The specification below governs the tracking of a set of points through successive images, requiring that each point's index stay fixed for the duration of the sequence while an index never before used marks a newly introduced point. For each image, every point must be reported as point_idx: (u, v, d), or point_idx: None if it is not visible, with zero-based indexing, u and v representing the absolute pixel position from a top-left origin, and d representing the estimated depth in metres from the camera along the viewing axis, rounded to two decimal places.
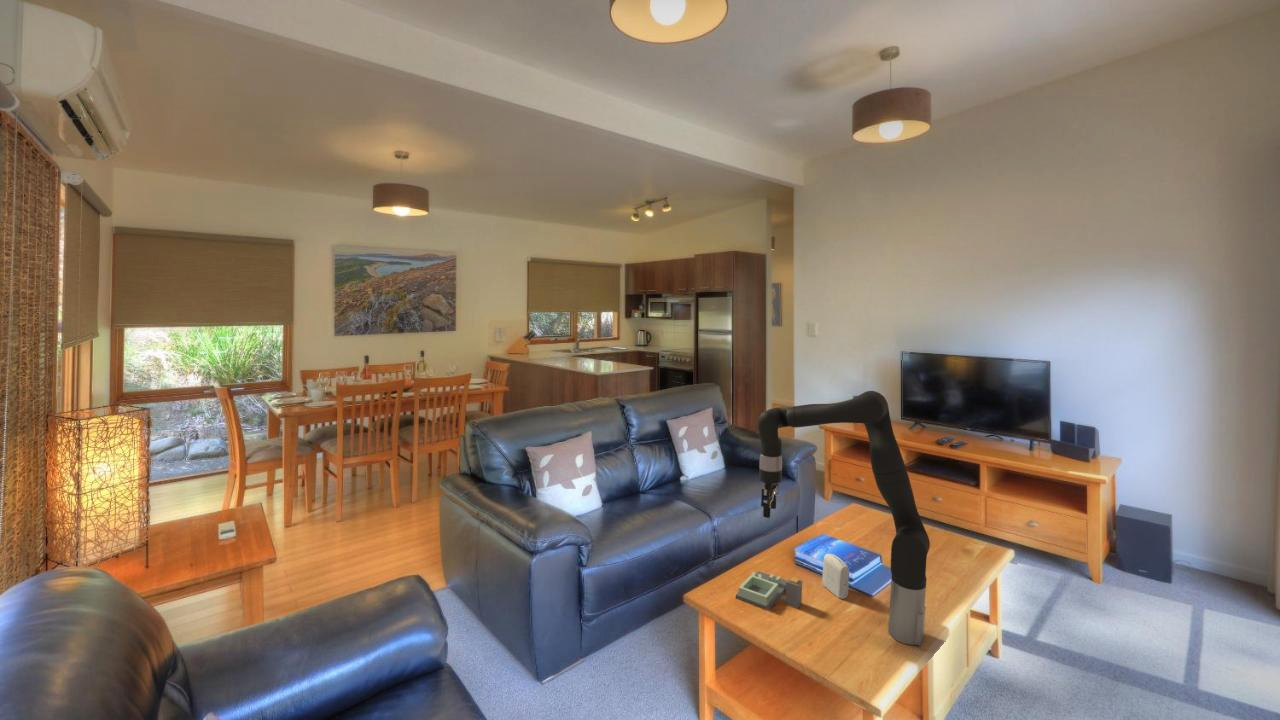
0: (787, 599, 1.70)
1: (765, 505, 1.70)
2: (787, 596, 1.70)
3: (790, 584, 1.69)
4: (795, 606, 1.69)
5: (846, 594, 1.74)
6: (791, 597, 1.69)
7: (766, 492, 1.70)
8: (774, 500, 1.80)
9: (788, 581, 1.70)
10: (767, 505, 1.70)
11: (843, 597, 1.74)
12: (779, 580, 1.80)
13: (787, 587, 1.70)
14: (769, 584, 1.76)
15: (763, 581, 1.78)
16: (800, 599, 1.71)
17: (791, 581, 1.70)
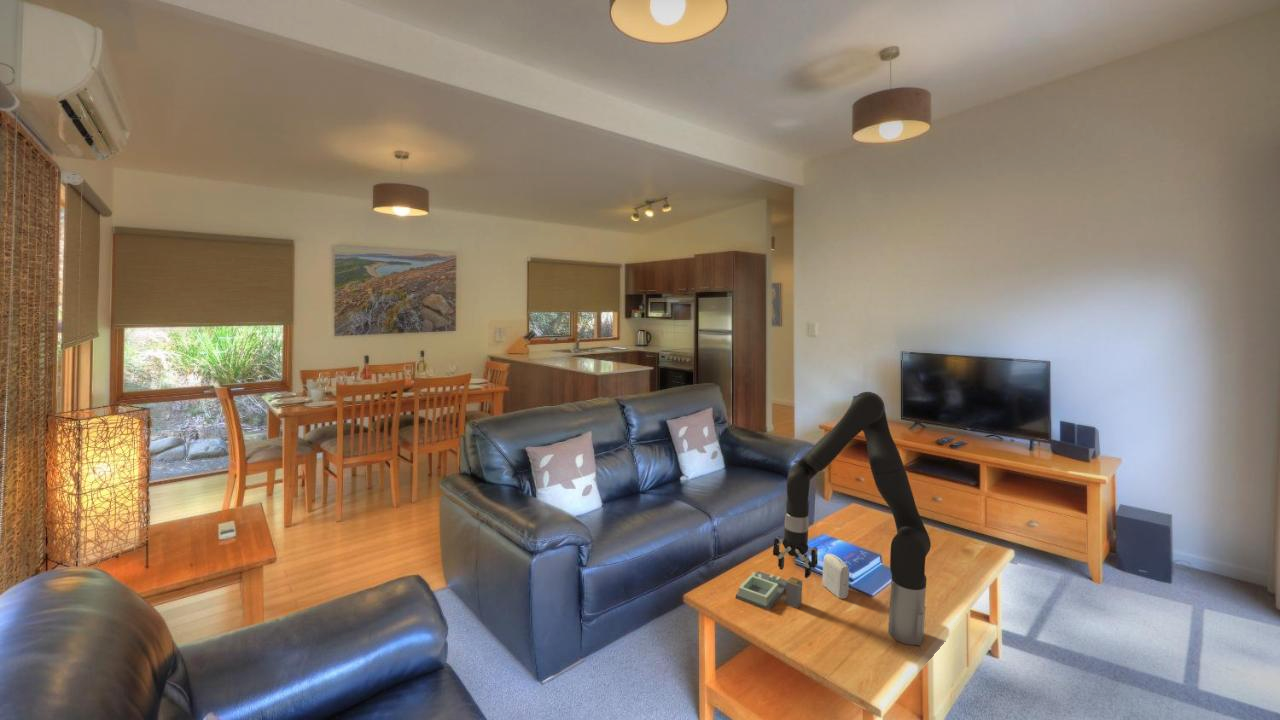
0: (787, 599, 1.70)
1: (816, 564, 1.66)
2: (787, 596, 1.70)
3: (790, 584, 1.69)
4: (795, 606, 1.69)
5: (846, 594, 1.74)
6: (791, 597, 1.69)
7: (816, 551, 1.65)
8: (783, 559, 1.73)
9: (788, 581, 1.70)
10: (817, 563, 1.66)
11: (843, 597, 1.74)
12: (779, 580, 1.80)
13: (787, 587, 1.70)
14: (769, 584, 1.76)
15: (763, 581, 1.78)
16: (800, 599, 1.71)
17: (791, 581, 1.70)
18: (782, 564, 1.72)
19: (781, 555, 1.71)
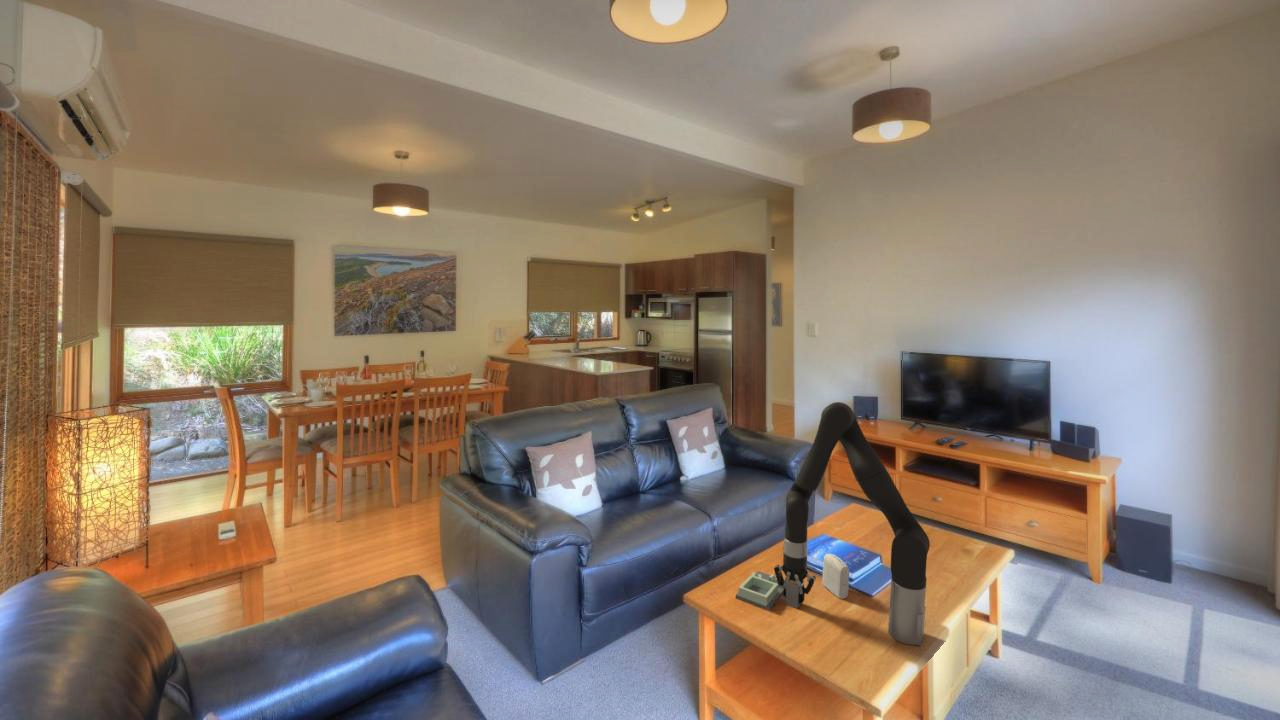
0: (787, 599, 1.70)
1: (809, 590, 1.68)
2: (787, 596, 1.70)
3: (790, 584, 1.69)
4: (795, 606, 1.69)
5: (846, 594, 1.74)
6: (791, 597, 1.69)
7: (814, 580, 1.67)
8: None
9: None
10: None
11: (843, 597, 1.74)
12: None
13: (787, 587, 1.70)
14: (769, 584, 1.76)
15: (763, 581, 1.78)
16: None
17: (791, 581, 1.70)
18: None
19: (785, 584, 1.71)
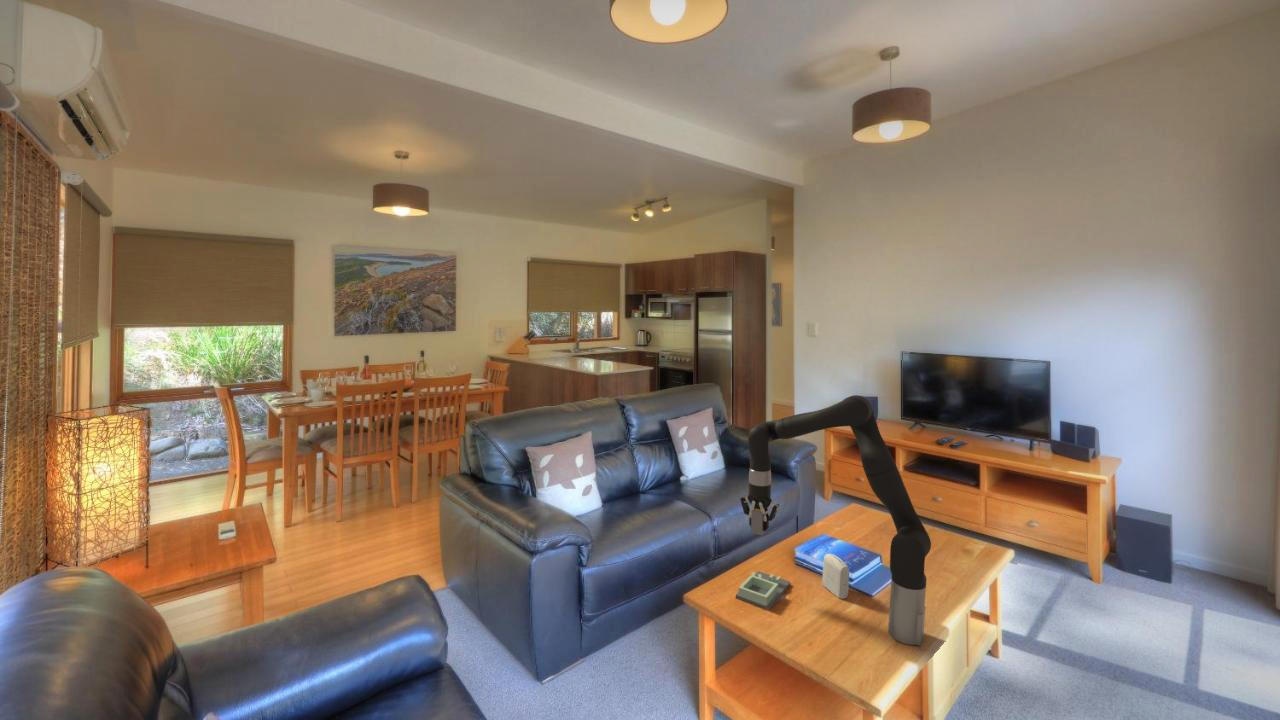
0: (752, 527, 1.78)
1: (773, 517, 1.75)
2: (752, 524, 1.78)
3: (755, 512, 1.77)
4: (760, 533, 1.76)
5: (846, 594, 1.74)
6: (756, 525, 1.77)
7: (777, 507, 1.74)
8: None
9: (753, 510, 1.78)
10: (774, 517, 1.76)
11: (843, 597, 1.74)
12: (779, 580, 1.80)
13: (752, 515, 1.78)
14: (769, 584, 1.76)
15: (763, 581, 1.78)
16: None
17: (756, 509, 1.77)
18: None
19: None
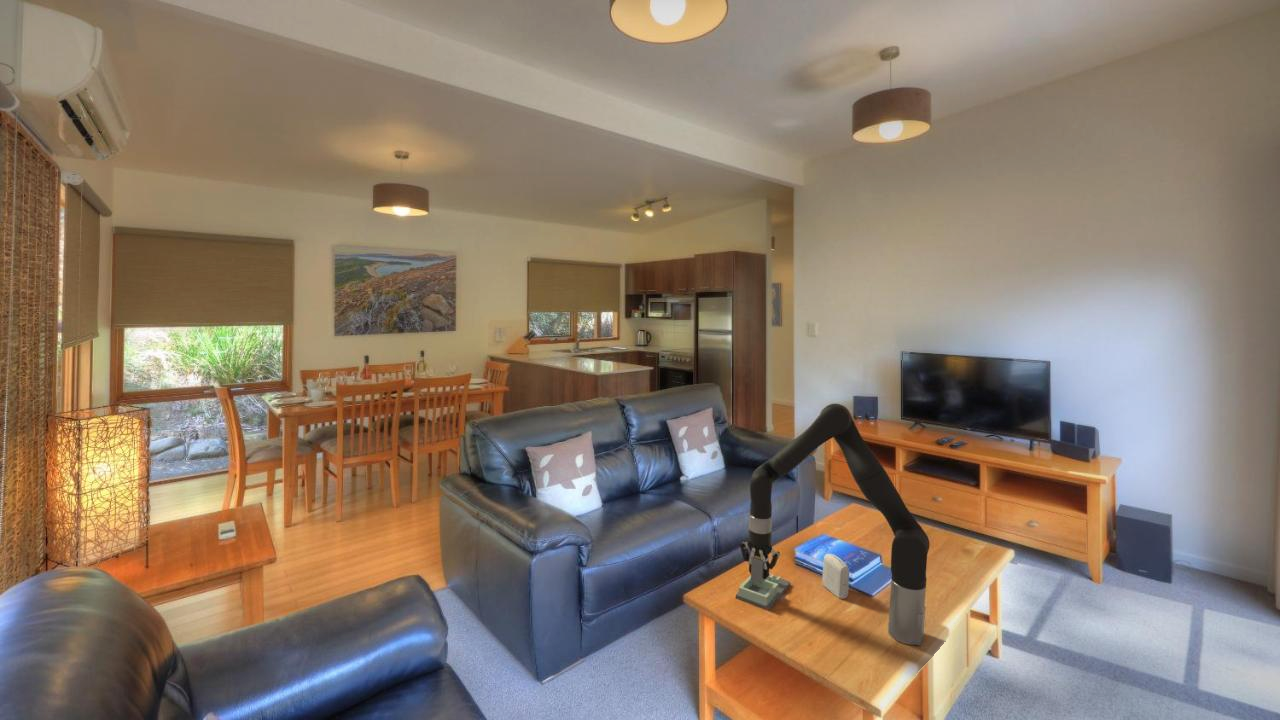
0: (752, 574, 1.73)
1: (773, 565, 1.71)
2: (752, 571, 1.73)
3: (755, 560, 1.72)
4: (760, 581, 1.72)
5: (846, 594, 1.74)
6: (756, 572, 1.72)
7: (778, 555, 1.70)
8: None
9: (753, 557, 1.73)
10: (774, 565, 1.71)
11: (843, 597, 1.74)
12: (779, 580, 1.80)
13: (752, 563, 1.73)
14: (769, 584, 1.76)
15: None
16: None
17: (756, 557, 1.73)
18: None
19: (750, 560, 1.74)
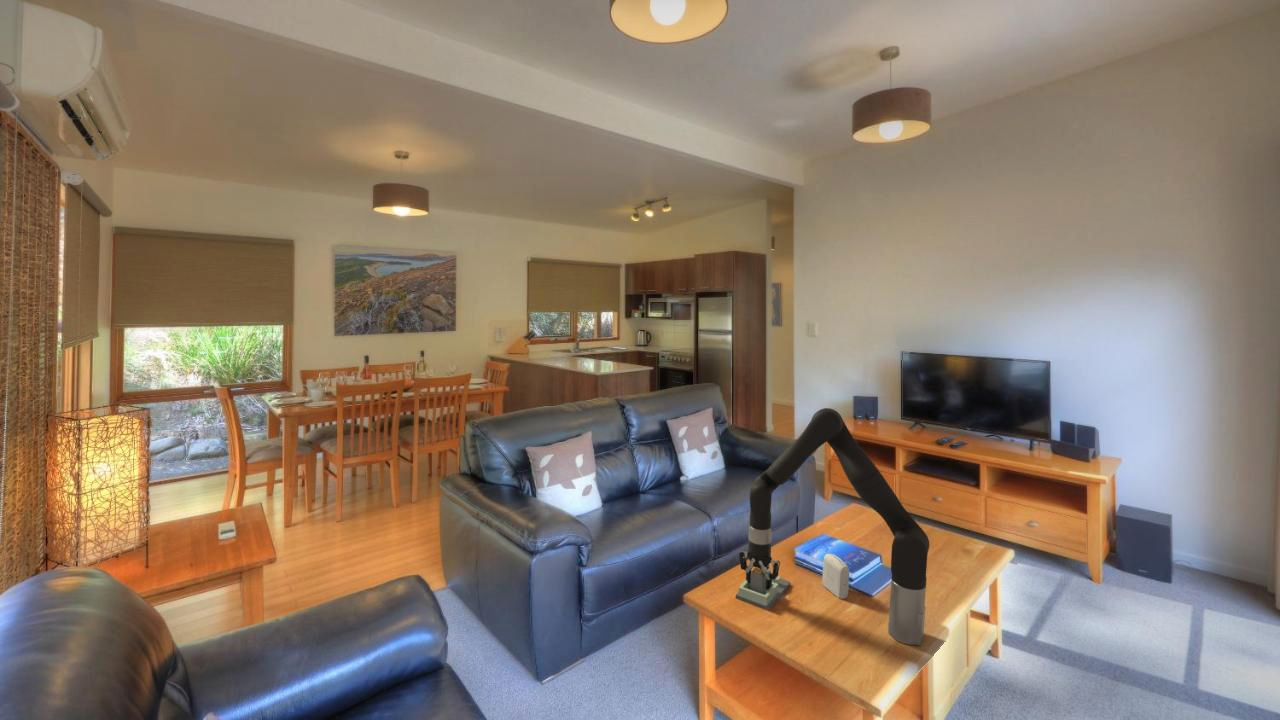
0: (752, 589, 1.74)
1: (776, 576, 1.70)
2: (752, 586, 1.74)
3: (754, 574, 1.73)
4: None
5: (846, 594, 1.74)
6: (756, 587, 1.73)
7: (779, 564, 1.70)
8: None
9: (753, 572, 1.74)
10: (777, 575, 1.71)
11: (843, 597, 1.74)
12: (779, 580, 1.80)
13: (752, 577, 1.73)
14: None
15: None
16: (764, 589, 1.74)
17: (756, 572, 1.73)
18: (750, 578, 1.76)
19: (748, 569, 1.75)
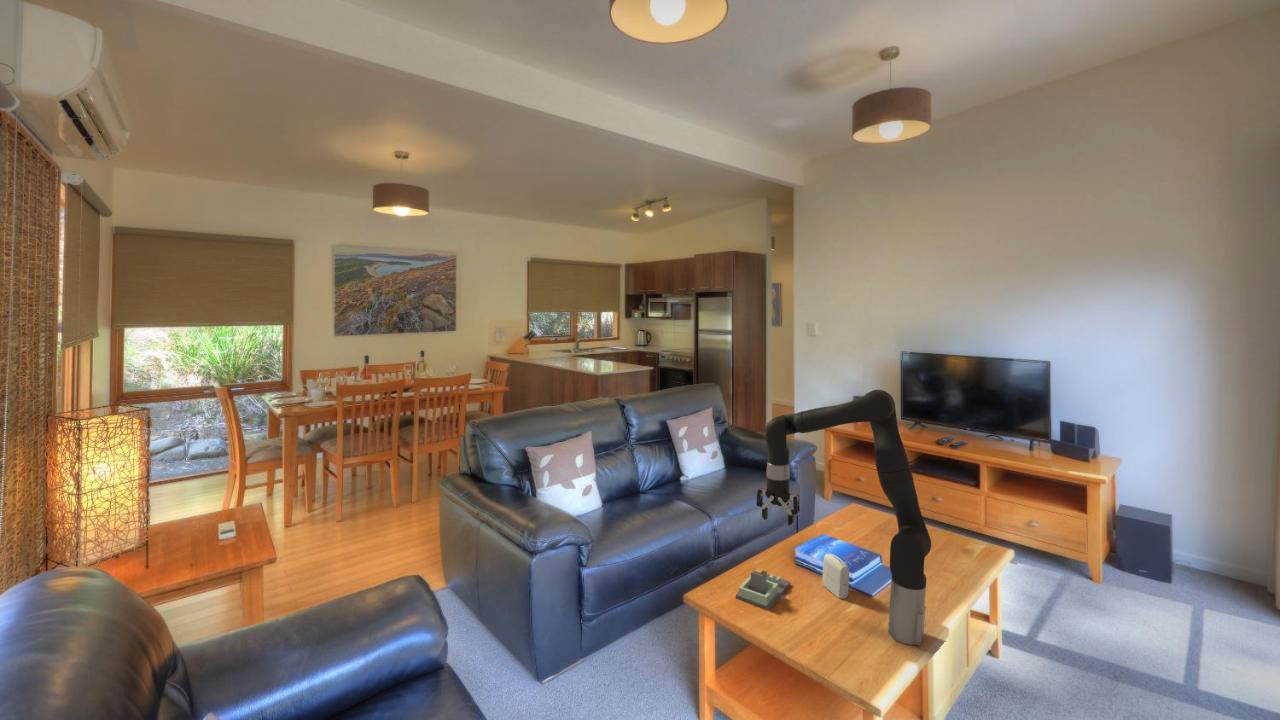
0: (752, 589, 1.74)
1: (798, 511, 1.70)
2: (752, 586, 1.74)
3: (754, 574, 1.73)
4: None
5: (846, 594, 1.74)
6: (756, 587, 1.73)
7: (798, 498, 1.70)
8: (767, 510, 1.77)
9: (753, 572, 1.74)
10: (799, 510, 1.71)
11: (843, 597, 1.74)
12: (779, 580, 1.80)
13: (752, 577, 1.73)
14: (769, 584, 1.76)
15: None
16: (764, 589, 1.74)
17: (755, 572, 1.73)
18: (766, 514, 1.76)
19: (764, 505, 1.75)
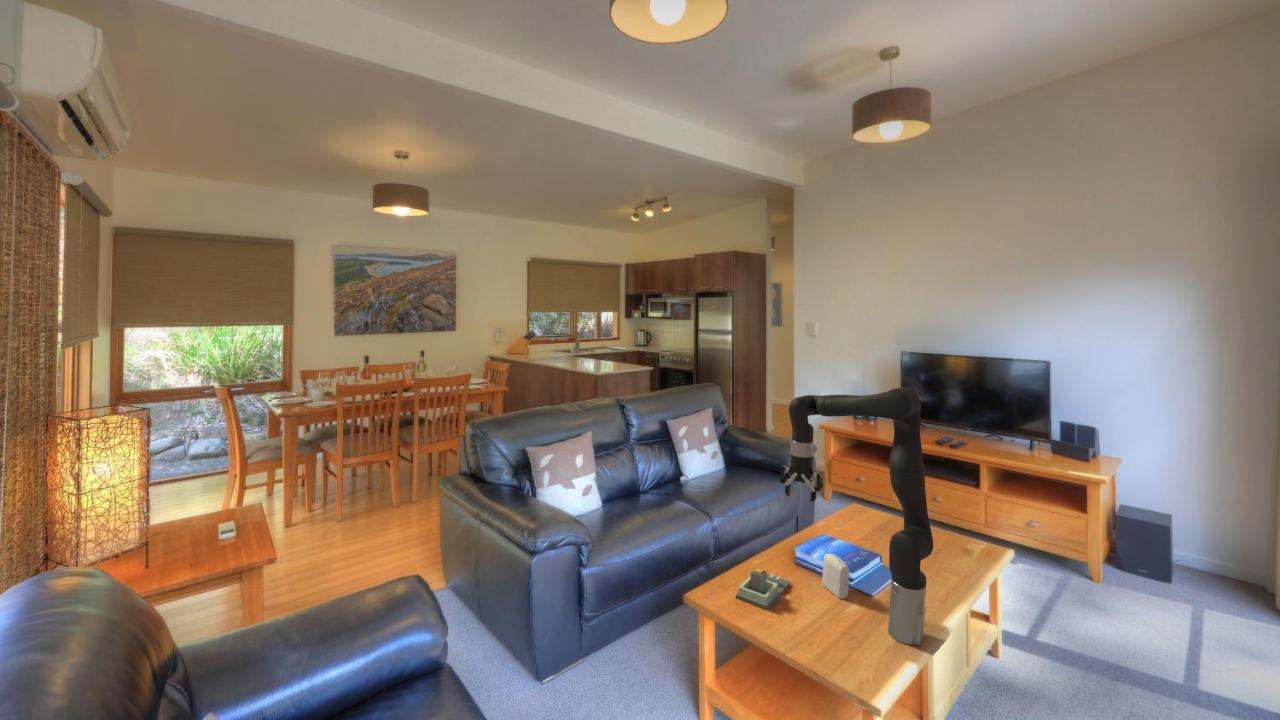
0: (752, 589, 1.74)
1: (821, 488, 1.74)
2: (752, 586, 1.74)
3: (754, 574, 1.73)
4: None
5: (846, 594, 1.74)
6: (756, 587, 1.73)
7: (821, 475, 1.74)
8: (790, 486, 1.81)
9: (753, 572, 1.74)
10: (822, 487, 1.75)
11: (843, 597, 1.74)
12: (779, 580, 1.80)
13: (752, 577, 1.73)
14: (769, 584, 1.76)
15: None
16: (764, 589, 1.74)
17: (755, 572, 1.73)
18: (789, 491, 1.81)
19: (788, 482, 1.80)
